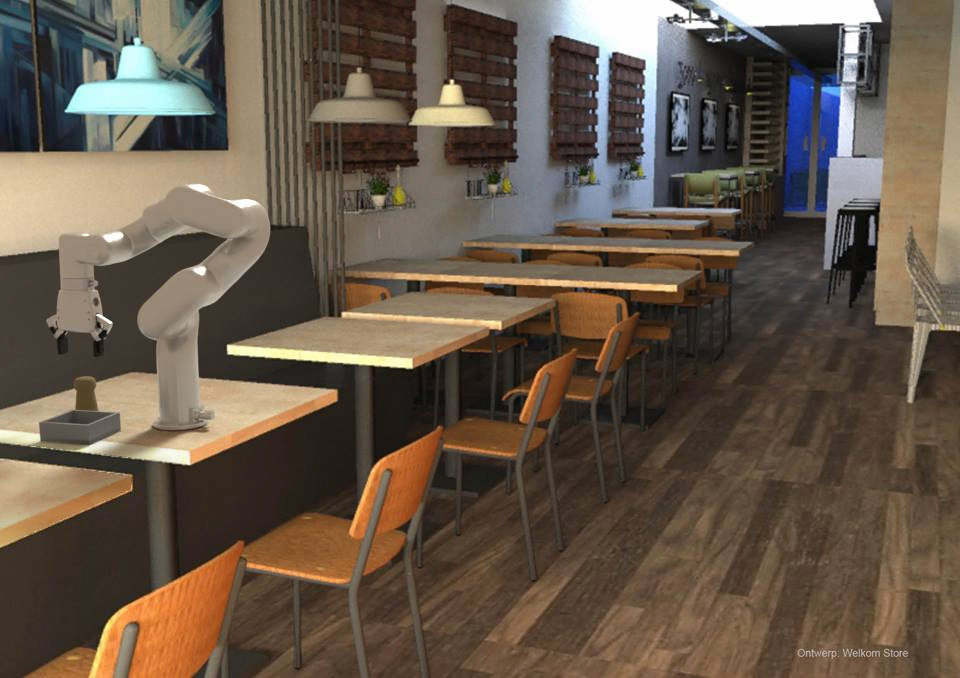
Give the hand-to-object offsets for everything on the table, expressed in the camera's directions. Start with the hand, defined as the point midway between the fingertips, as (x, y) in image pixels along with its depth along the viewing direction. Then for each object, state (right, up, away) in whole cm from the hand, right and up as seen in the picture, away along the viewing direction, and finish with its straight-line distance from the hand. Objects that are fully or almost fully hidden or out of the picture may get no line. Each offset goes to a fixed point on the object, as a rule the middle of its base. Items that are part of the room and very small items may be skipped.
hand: (80, 354), depth 261 cm
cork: (+1, -16, +3) cm, 17 cm away
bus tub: (+4, -19, -11) cm, 22 cm away
